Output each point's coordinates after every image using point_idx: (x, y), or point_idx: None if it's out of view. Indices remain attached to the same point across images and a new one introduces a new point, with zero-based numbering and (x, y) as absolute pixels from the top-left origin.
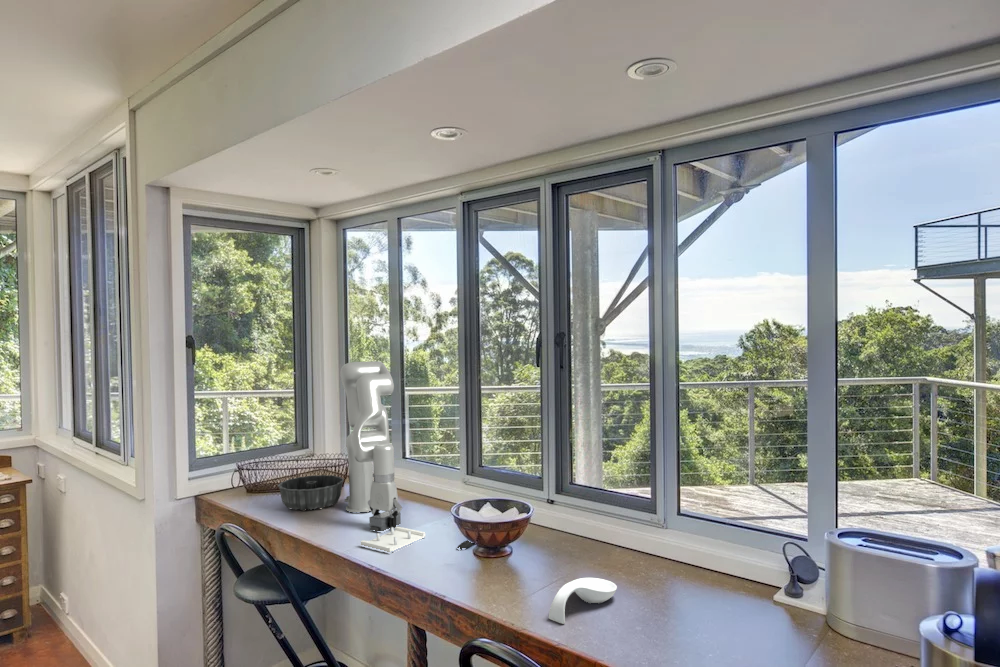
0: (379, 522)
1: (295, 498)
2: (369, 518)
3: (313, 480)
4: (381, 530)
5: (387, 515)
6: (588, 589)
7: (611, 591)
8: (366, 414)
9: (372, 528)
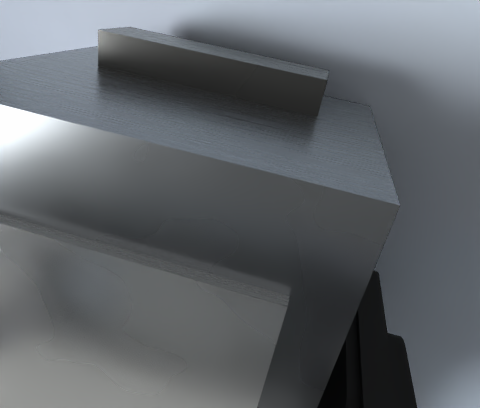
0: (27, 78)
1: None
2: (391, 188)
3: None
4: (82, 51)
5: (12, 379)
6: None
7: None
8: None
9: (271, 63)
